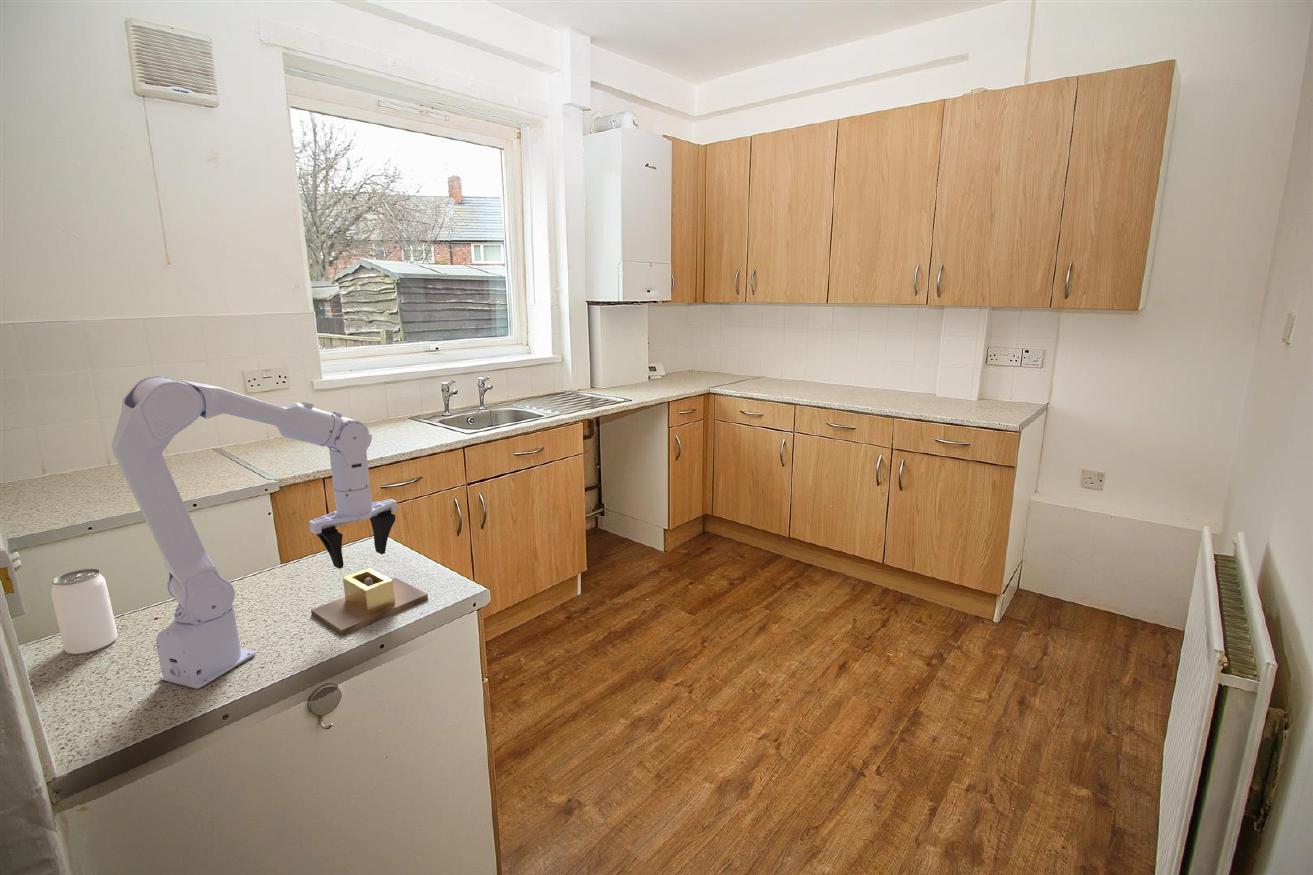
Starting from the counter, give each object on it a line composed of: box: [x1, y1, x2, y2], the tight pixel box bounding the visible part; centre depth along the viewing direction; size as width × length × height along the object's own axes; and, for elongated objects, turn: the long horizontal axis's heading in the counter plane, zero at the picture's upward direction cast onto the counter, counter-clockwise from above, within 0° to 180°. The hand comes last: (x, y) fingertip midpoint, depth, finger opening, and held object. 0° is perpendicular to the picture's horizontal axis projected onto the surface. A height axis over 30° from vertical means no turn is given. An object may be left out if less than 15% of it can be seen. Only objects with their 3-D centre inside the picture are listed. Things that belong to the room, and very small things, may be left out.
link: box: [342, 567, 395, 614], centre depth 113 cm, size 8×5×4 cm, turn 52°
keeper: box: [310, 577, 429, 636], centre depth 113 cm, size 16×11×6 cm
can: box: [50, 568, 118, 656], centre depth 100 cm, size 6×6×12 cm
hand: (360, 559), depth 111 cm, fingers open, 7 cm apart
